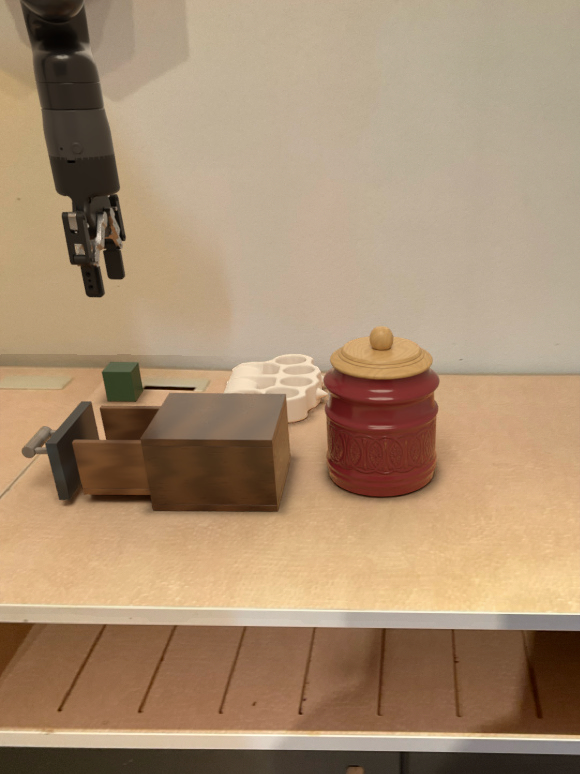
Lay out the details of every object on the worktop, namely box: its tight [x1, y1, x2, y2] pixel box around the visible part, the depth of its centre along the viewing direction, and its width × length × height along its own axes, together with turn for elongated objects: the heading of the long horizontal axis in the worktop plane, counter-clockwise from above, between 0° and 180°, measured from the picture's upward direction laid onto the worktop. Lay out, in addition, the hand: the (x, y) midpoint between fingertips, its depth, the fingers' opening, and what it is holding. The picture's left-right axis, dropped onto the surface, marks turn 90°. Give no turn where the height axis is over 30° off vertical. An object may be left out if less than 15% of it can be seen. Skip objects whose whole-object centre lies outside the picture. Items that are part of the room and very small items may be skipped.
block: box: [101, 361, 144, 403], centre depth 112 cm, size 4×4×4 cm
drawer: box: [21, 400, 161, 501], centre depth 89 cm, size 17×11×7 cm
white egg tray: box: [223, 353, 329, 424], centre depth 113 cm, size 3×18×15 cm
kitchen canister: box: [323, 325, 441, 497], centre depth 90 cm, size 13×13×18 cm
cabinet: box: [140, 392, 292, 512], centre depth 89 cm, size 14×13×9 cm
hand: (106, 287), depth 104 cm, fingers open, 8 cm apart
